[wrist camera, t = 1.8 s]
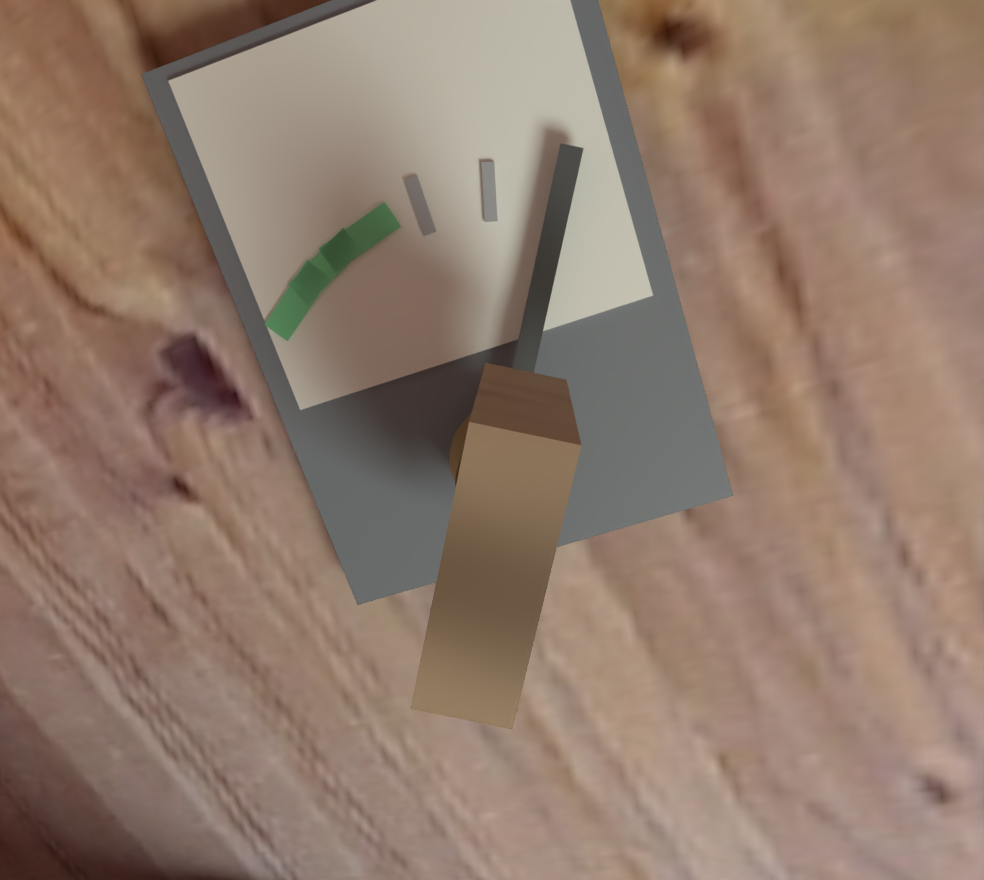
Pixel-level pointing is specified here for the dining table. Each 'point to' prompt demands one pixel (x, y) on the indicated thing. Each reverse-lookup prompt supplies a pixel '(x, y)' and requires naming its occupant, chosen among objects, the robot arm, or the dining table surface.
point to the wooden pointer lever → (504, 510)
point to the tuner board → (439, 257)
